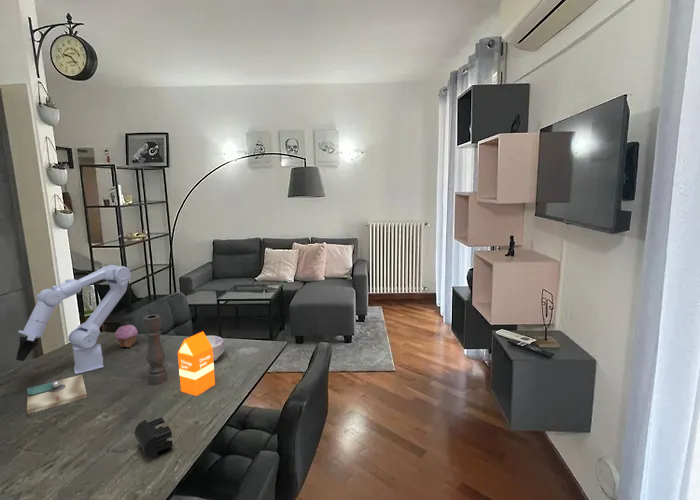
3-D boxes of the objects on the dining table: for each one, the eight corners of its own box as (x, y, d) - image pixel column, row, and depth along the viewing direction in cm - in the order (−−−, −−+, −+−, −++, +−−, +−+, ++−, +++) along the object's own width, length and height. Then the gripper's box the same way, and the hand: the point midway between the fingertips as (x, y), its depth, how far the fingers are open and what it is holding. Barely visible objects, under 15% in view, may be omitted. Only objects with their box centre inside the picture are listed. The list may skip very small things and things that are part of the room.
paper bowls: (232, 356, 165) (231, 339, 164) (201, 371, 152) (200, 352, 151) (209, 349, 173) (207, 332, 172) (178, 362, 160) (176, 344, 159)
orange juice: (215, 384, 142) (211, 332, 139) (196, 396, 134) (192, 341, 131) (199, 380, 145) (195, 329, 142) (180, 391, 137) (175, 337, 134)
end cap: (135, 445, 109) (133, 423, 108) (162, 434, 113) (160, 413, 112) (145, 464, 101) (143, 440, 100) (173, 451, 106) (171, 429, 105)
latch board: (82, 378, 148) (82, 373, 148) (87, 397, 134) (86, 393, 134) (28, 392, 138) (27, 387, 138) (27, 414, 124) (26, 409, 124)
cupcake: (112, 349, 174) (109, 328, 172) (126, 342, 182) (124, 321, 181) (129, 350, 172) (127, 329, 171) (143, 343, 181) (141, 322, 179)
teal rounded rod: (60, 384, 139) (59, 379, 138) (60, 387, 137) (60, 382, 137) (27, 393, 133) (26, 388, 133) (27, 396, 131) (26, 390, 131)
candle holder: (171, 378, 147) (165, 315, 143) (158, 386, 141) (151, 320, 137) (158, 375, 149) (152, 313, 145) (145, 383, 143) (138, 318, 139)
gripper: (25, 317, 144) (6, 353, 140) (25, 319, 133) (5, 359, 129) (47, 322, 148) (30, 357, 144) (49, 324, 137) (30, 363, 133)
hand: (19, 358), depth 137 cm, fingers open, 7 cm apart
